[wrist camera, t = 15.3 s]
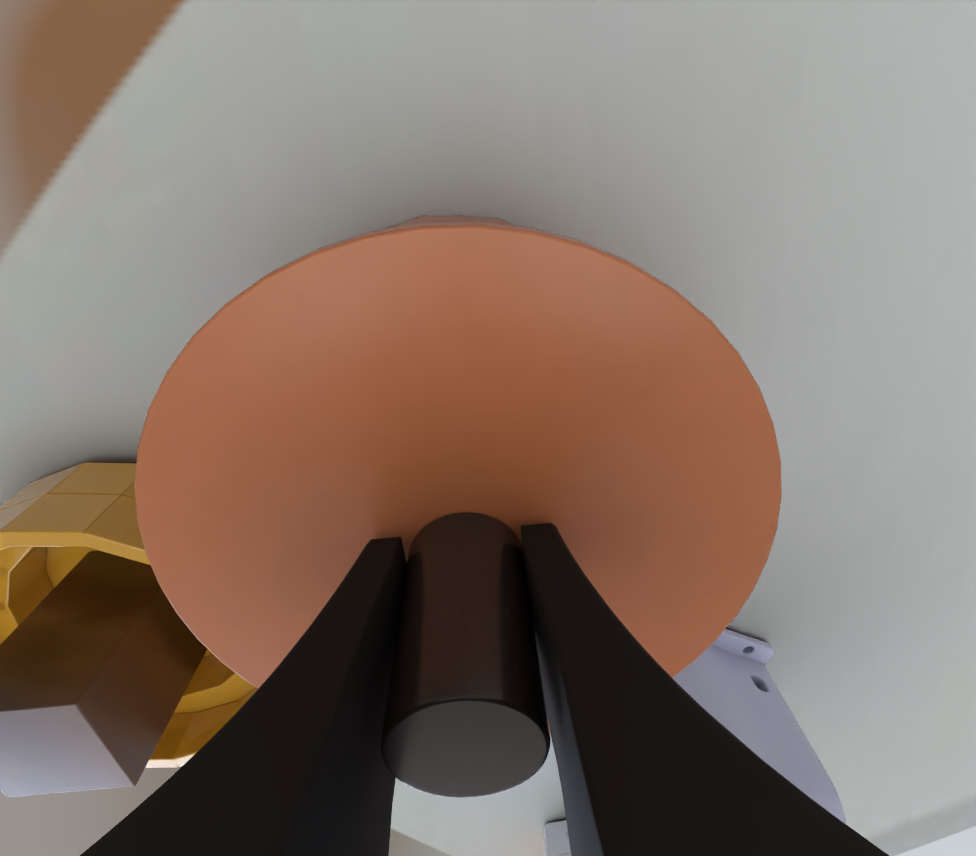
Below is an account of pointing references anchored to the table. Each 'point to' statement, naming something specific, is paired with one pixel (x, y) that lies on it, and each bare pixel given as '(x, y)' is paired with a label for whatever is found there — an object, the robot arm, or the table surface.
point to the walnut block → (92, 680)
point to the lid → (457, 471)
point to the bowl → (111, 529)
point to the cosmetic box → (557, 839)
